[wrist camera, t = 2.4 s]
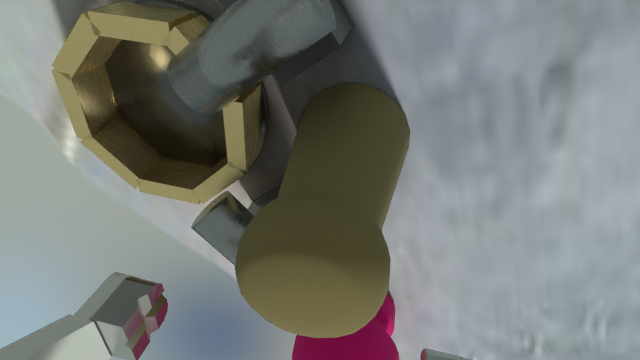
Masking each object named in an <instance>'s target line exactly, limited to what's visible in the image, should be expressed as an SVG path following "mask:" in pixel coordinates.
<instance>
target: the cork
mask: <svg viewBox="0 0 640 360" xmlns="http://www.w3.org/2000/svg"><path fill="white" fill-rule="evenodd" d="M409 136H410V129H409V126H408V122H407V119H406V115H405V114H404V112H403V111H402V110H401V108H400V107H399V105H398V104H397V103H396V101H395V100H394V99H392V98H391V97H390V96H388V95H387V94H385V93H384V92H383V91H381V90H380V89H377V88H374V87H371V86H368V85H365V84H362V83H342V84H338V85H335V86H332V87H329V88H326V89H324V90H323V91H321V92H320V93H319V94H317V95H316V96H315V97H313V98H312V99H311V101H310V102H309V104H308V105H307V107H306V108H305V110H304V111H303V114H302V117H301V120H300V124H299V127H298V130H297V134H296V137H295V141H294V144H293V147H292V151H291V154H290V157H289V161H288V164H287V167H286V171H285V174H284V177H283V181H282V184H281V187H280V191H279V194H278V198H277V199H275V200H273V201H272V202H270V203H268V204H267V205H265V206H264V207H263V208H262V209H261V210H260V211H259V212H258V213H257V214H256V215H255V216H254V218H253V219H252V220H251V222H250V223H249V225H248V226H247V228H246V229H245V231H244V233H243V234H242V236H241V238H240V241H239V245H238V250H237V255H236V262H235V271H236V277H237V282H238V285H239V288H240V292H241V294H242V296H243V297H244V298H245V300H246V301H247V302H248V304H249V305H250V306H251V308H253V309H254V310H255V311H256V312H257V313H259V314H260V315H261V316H262V317H263V318H265V319H266V320H267V321H268V322H270V323H272V324H274V325H275V326H277V327H279V328H281V329H283V330H286V331H289V332H291V333H294V334H297V335H301V336H307V337H313V338H336V337H341V336H345V335H349V334H353V333H355V332H356V331H358V330H359V329H361V328H362V327H364V326H365V325H367V324H368V323H369V322H370V321H371V320H372V319H373V318H374V317H375V315H376V314H377V312H378V311H379V309H380V307H381V306H382V304H383V302H384V300H385V297H386V295H387V292H388V290H389V275H390V255H389V251H388V247H387V244H386V241H385V239H384V236H383V234H382V231H381V230H382V227H383V224H384V221H385V218H386V215H387V212H388V209H389V206H390V203H391V200H392V196H393V193H394V190H395V187H396V184H397V181H398V178H399V175H400V172H401V169H402V166H403V163H404V160H405V156H406V153H407V150H408V147H409Z"/></svg>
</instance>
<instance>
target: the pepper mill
mask: <svg viewBox="0 0 640 360" xmlns="http://www.w3.org/2000/svg"><path fill="white" fill-rule="evenodd" d="M394 321H395V306H394V303H393V300H392V299H391V297H390V296H389V295H388V294H387V295H386V297H385V300H384V302H383V304H382V306H381V307H380V309H379V311H378V312H377V314H376V315H375V317H374V318H373V319H372V320H371V321H370V322H369V323H368V324H367V325H365V326H364V327H362V328H361V329H359V330H358V331H356V332H355V333H353V334H349V335H345V336H341V337H336V338H313V337H307V336H301V335H297V336H296V339H295V344H294V349H293V354H292V360H399V354H398V351H397V348H396V345H395V343H394V342H393V340H392V338H391V335H392V333H393V331H394Z"/></svg>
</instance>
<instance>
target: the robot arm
mask: <svg viewBox="0 0 640 360" xmlns="http://www.w3.org/2000/svg"><path fill="white" fill-rule="evenodd" d="M163 291H164V289H163V286H162V284H161V283H157V282H153V281H149V280H145V279H141V278H137V277H133V276H130V275H126V274H122V273H118V272H115V273H113V274H112V275H110V276H109V277H108V278H107V279H106V280H105V281H104V282H103V284H102V285H101V286H100V287H99V288H98V289H97V290H96V291H95V292H94V293H93V295H92V296H91V297H90V298H89V299H88V300H87V301H86V302H85V303H84V304H83V305H82V307H81V308H80V309H79V310H78V311H77V312H76V313H75V314H74V315H70V314H69V315H67V316H65V317H63V318H61V319H59V320H57V321H55V322H53V323H51V324H49V325H47V326H45V327H43V328H41V329H39V330H37V331H35V332H33V333H31V334H29V335H27V336H25V337H23V338H21V339H19V340H17V341H15V342H13V343H11V344H9V345H7V346H5V347H3V348H1V349H0V360H108V359H109V358H110V357H111V356H115V357H119V358H123V359H127V360H138V359H139V358H140V356H141V354H142V353H143V351H144V350H145V348H146V347H147V345H148V344H149V342H150V333H152V332H154V331H155V330H157V329H159V327H160V326H161V324H162V322H163V321H164V318H165V316H166V313H167V308H168V303H167V299H166V298H165V297H164V296H163V295H162V293H163ZM110 355H111V356H110ZM421 360H472V359H468V358H464V357H460V356H457V355H452V354H448V353H443V352H439V351H435V350H430V349H426V348H425V349H423V351H422V353H421Z"/></svg>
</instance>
